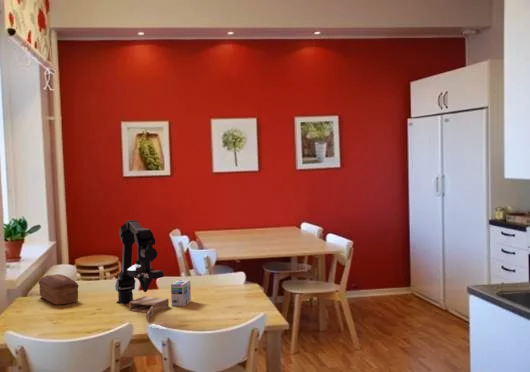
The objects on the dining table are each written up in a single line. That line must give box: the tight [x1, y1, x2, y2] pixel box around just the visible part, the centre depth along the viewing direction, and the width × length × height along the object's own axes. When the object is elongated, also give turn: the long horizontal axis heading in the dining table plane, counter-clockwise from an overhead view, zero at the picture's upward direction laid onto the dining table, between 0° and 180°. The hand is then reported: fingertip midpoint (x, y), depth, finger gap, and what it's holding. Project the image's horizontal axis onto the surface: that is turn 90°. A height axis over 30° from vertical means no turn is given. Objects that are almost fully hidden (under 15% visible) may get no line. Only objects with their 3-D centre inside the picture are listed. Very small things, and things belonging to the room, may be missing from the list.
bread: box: [38, 273, 79, 305], centre depth 310 cm, size 14×28×12 cm, turn 38°
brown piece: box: [128, 295, 170, 314], centre depth 288 cm, size 14×12×4 cm
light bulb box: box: [170, 279, 192, 307], centre depth 297 cm, size 11×7×11 cm, turn 168°
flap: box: [145, 306, 154, 321], centre depth 272 cm, size 14×1×3 cm, turn 0°
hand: (145, 291), depth 271 cm, fingers closed
